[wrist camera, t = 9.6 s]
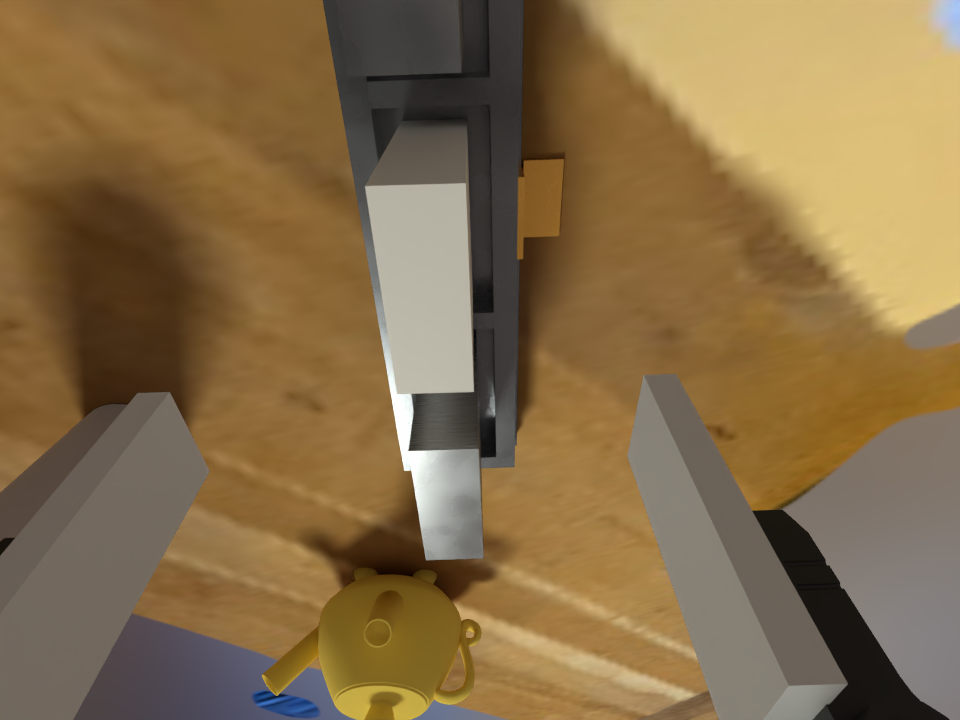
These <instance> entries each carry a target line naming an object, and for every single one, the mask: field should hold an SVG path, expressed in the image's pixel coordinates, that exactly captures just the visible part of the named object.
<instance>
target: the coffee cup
mask: <svg viewBox="0 0 960 720" xmlns="http://www.w3.org/2000/svg"><path fill="white" fill-rule="evenodd" d="M126 406H127V405H126V404H109V405H104V406H101V407H98V408H96V409H94V410H93V411H92V412H90V413H89V414H88V415H87V416H86V417H85V418H84V419H82V420H81V421H80V422H79V423H78V424H77V425H76V426H75V427H73V428H72V429H71V430H70V431H69V432H68V433H67V434H66V435H65V436H63V437H62V438H61V439H60V440H59V441H58V442H57V443H56V444H54V445H53V446H52V447H51V448H50V449H49V450H48V451H47V452H45V453H44V454H43V455H42V456H41V457H40V458H39V459H38V460H36V461H35V462H34V463H33V464H32V465H31V466H30V467H29V468H27V469H26V470H25V471H24V472H23V473H22V474H21V475H20V476H18V477H17V478H16V479H15V480H14V481H13V482H12V483H11V484H9V485H8V486H7V487H6V488H5V489H4V490H3V491H2V492H0V541H1V540H2V539H4V538H16V537H17V535H18V534H19V533H20V532H21V531H22V529H23V528H24V527H25V526H26V525H27V524H28V522H29V521H30V520H31V519H32V518H33V516H34V515H35V514H36V513H37V512H38V510H39V509H40V508H41V507H42V506H43V505H44V503H45V502H46V501H47V500H48V499H49V497H50V496H51V495H52V494H53V493H54V492H55V490H56V489H57V488H58V487H59V486H60V484H61V483H62V482H63V481H64V480H65V478H66V477H67V476H68V475H69V474H70V473H71V471H72V470H73V469H74V468H75V467H76V465H77V464H78V463H79V462H80V461H81V459H82V458H83V457H84V456H85V455H86V454H87V452H88V451H89V450H90V449H91V448H92V446H93V445H94V444H95V443H96V442H97V441H98V439H99V438H100V437H101V436H102V435H103V433H104V432H105V431H106V430H107V429H108V427H109V426H110V425H111V424H112V423H113V422H114V420H115V419H116V418H117V417H118V416H119V414H120V413H121V412H122V411H123V410H124V409H125V407H126Z"/></svg>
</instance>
